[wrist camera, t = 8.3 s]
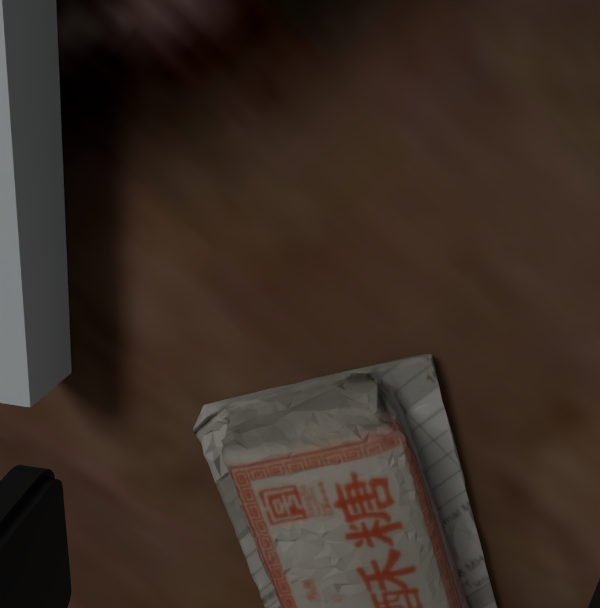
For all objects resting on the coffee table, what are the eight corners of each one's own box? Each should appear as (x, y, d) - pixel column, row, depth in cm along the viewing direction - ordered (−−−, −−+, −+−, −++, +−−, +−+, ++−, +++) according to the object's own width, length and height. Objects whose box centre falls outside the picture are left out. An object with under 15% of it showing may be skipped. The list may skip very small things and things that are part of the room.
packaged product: (154, 464, 19) (445, 402, 17) (196, 398, 23) (428, 343, 22) (308, 818, 24) (549, 801, 22) (317, 705, 28) (517, 683, 26)
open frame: (7, -271, 17) (-68, -352, 14) (922, -230, 14) (1057, -316, 12) (44, 368, 23) (-1, 402, 20) (670, 459, 21) (716, 511, 18)
